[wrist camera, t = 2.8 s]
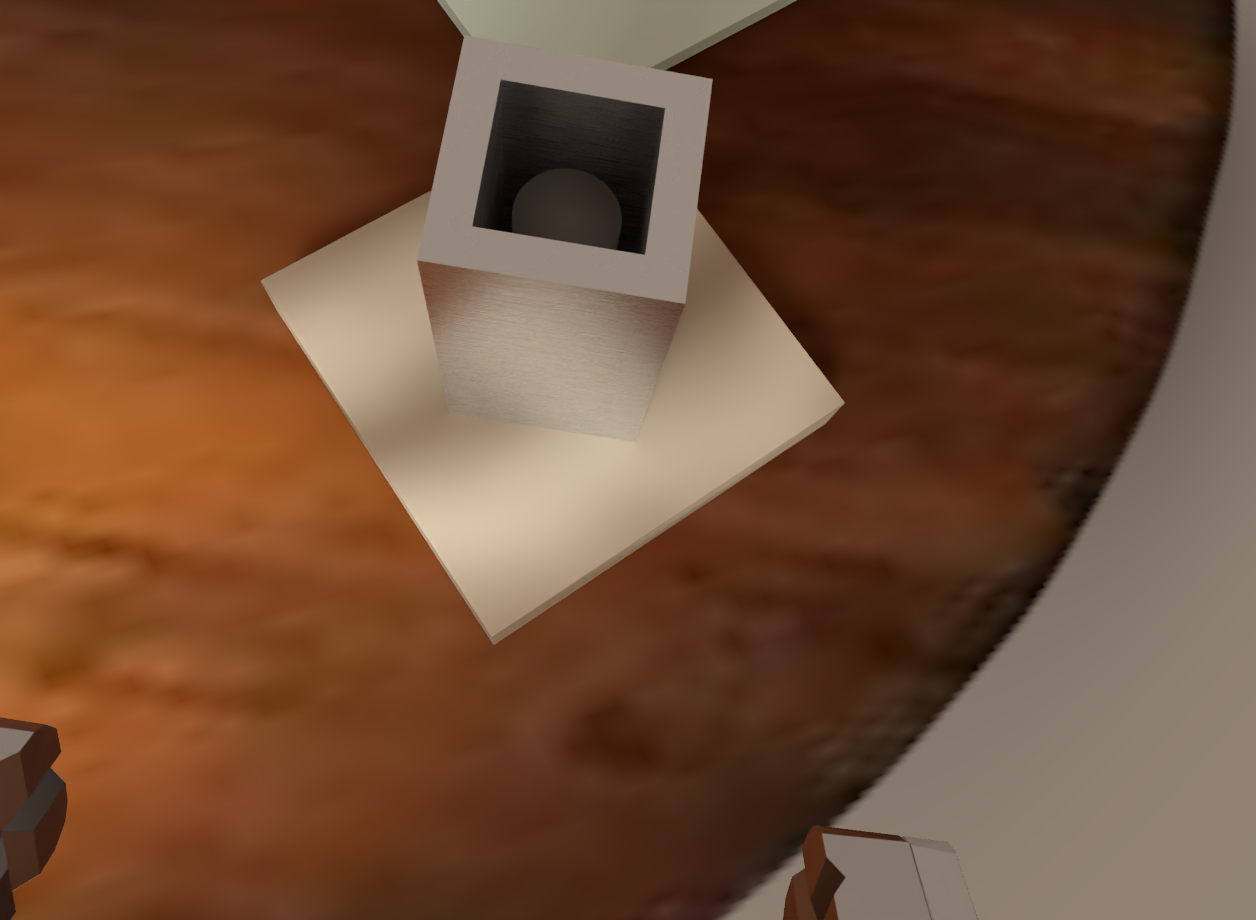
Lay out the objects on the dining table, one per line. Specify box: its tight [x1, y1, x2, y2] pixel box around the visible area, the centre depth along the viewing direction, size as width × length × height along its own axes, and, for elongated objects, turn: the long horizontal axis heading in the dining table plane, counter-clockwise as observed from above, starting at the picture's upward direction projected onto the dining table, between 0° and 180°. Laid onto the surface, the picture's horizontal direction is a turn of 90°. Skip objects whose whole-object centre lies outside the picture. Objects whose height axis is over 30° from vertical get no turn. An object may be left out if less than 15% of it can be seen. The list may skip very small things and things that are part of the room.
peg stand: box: [261, 169, 845, 645], centre depth 26 cm, size 12×12×9 cm
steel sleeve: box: [417, 35, 713, 442], centre depth 24 cm, size 5×5×9 cm
